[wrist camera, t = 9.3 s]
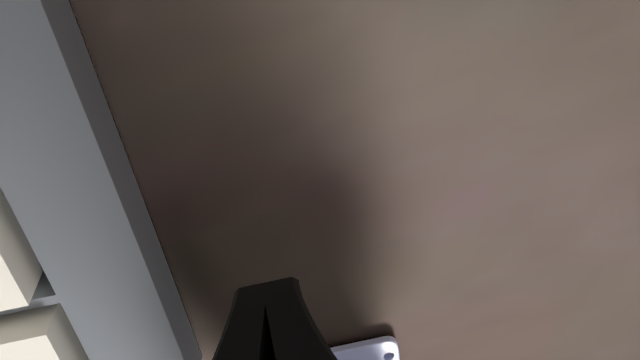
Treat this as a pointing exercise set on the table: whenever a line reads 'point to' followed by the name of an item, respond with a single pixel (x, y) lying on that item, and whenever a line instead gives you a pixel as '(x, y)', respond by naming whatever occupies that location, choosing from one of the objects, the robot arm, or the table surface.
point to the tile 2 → (39, 335)
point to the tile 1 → (15, 261)
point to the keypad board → (81, 194)
